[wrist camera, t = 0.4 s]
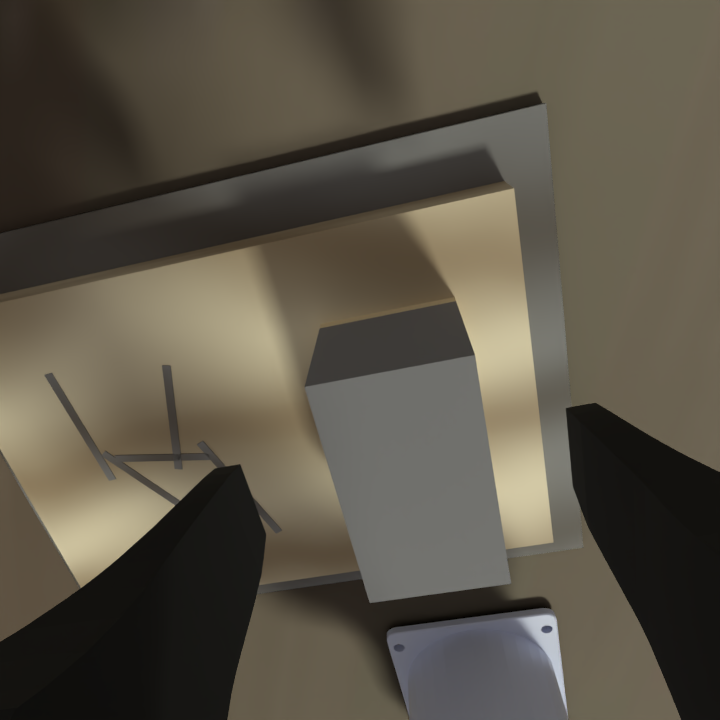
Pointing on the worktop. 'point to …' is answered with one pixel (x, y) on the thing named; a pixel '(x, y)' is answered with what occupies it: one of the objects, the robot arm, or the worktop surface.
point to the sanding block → (409, 450)
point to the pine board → (280, 339)
